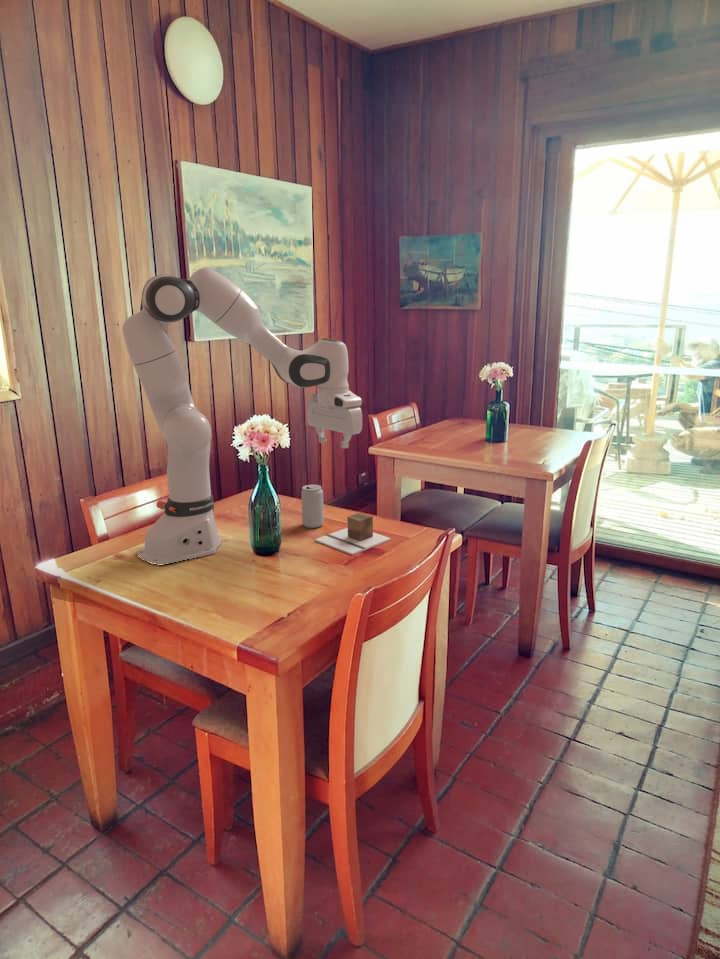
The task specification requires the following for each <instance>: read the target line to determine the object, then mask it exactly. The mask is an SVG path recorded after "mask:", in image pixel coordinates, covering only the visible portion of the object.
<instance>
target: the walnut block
mask: <svg viewBox="0 0 720 959" xmlns="http://www.w3.org/2000/svg"><path fill="white" fill-rule="evenodd" d="M373 517H374V516H373V515H368V514H366V513H363V512H357V513H355V514H351V515H349V516H347V528H348V537H349V538H352V539H355V540H358V541H363V540H365V539H368V538H371V537H373V532H374V518H373Z"/></svg>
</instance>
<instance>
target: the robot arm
mask: <svg viewBox="0 0 720 959" xmlns="http://www.w3.org/2000/svg"><path fill="white" fill-rule="evenodd" d="M142 288H143V289H142V292H141V300H140V301H141V303H140V311H139V312H136V313H134V314H132V315H130V316H129V317H128V318H127V319H126V320H125V321H124V323H123V325H122V333H123V338H124V339H123V340H124V342H125V347H126V349H127V352H128V356H129V358H130V360H131V363H132V366H133V367H134V369H135V372H136V374H137V377H138V379H139V381H140V383H141V385H142V388H143V390H144V392H145V395H146V398H147V400H148V403H149V406H150V408H151V411H152V414H153V416H154V419H155V421H156V424H157V426H158V428H159V431H160V433H161V434H162V436H163V437H164V438H165V440H166V444H167V466H166V477H167V489H168V498H167V500H166V502H165V501H163V500H158V501H157V502H156V503H155V504H156V505H155V506H156V507H157V508H158V509H161V510H164V513H163V514H162V515H161V516H160V517H159V518H158V519H157V520H156V521H155V522H154V523H153V524H152V525H151V526H150V527H149V528H148V529H147V531H146V533H145V537H144V546H142V547H140V548H137V550H136V555H137V554H138V555H139V556H140V557H141V558H142V559H144V560H146V561H149V562H152V563H156V564H166V563H172V562H177V561H181V560H185V561H188V560H187V559H189V560H194V559H196V558H197V557H198V558H201V557H206V556H209V555H210V556H211V555H213V554H216V553H217V549H218V547H220V545H221V544H222V540H221V538H220V536H219V533H218V529H217V526H216V520H215V516H214V515H215V514H214V512H215V506H214V505H215V503H214V496H213V493H212V489H211V488H212V487H211V478H210V477H211V476H210V457H211V456H210V455H211V440H212V434H213V433H212V427H211V424H210V421H209V419H207V417H206V415H205V414H203V413H202V412H200V411H199V409H197V407H196V404H195V402H194V399H193V396H192V393H191V389H190V384H189V382H188V377H187V374H186V372H185V370H184V367H183V365H182V363H181V360H180V357H179V354H178V353H177V350H176V348H175V346H174V343H173V341H172V337H171V335H170V324H171V323H177V322H179V321H181V320H183V319H184V318H186V317H188V316H189V315H191V314H192V313H193V312H196V311H197V312H199V313H201V314H202V315H204V316H205V317H207V319H208V320H210V322H212V323H213V324H215V325H216V326H217V327H219V328H220V329H221V330H222V331H224V332H226V333H228V334H229V335H231V336H232V337H235V338H237V339H238V340H241V341H244V342H246V343H247V344H249V345H250V346H252V348H254V349H255V350H256V351H257V352H259V354H261V355H262V356H263V357H264V358H265V359H267V360H268V362H270V364H271V366H272V367H273V369H274V371H275V373H276V376H278V378H279V379H280V380H281V381H282V382H284V383H286V384H289V385H293V386H295V387H298V388H302V389H305V388H310V387H316V386H317V393H313V394H311V396H309V399H308V403H307V409H306V410H307V411H306V422H307V424H308V426H309V427H310V426H311V427H315V431H316V433H317V436H318V442H319V443H321V444H324V443H327V441H328V440H327V439H328V438H327V437H328V436H326V435H325V430H328V431H333V432H338V433H342V437H343V440H342V441H340V448H342V449H348V448H349V447H350V446H349V445H350V443H349V442H350V441H351V439H352V437H353V436H354V435H358V434H360V433H361V432H362V430H363V411H362V407H360V406H362V403H363V399H362V398H361V397H360V396H358V395H356V394H355V393H353V392H352V391H351V390H350V387H349V386H350V385H349V382H348V375H349V371H350V370H349V369H350V368H349V352H348V348H347V345H346V344H345V343H344V341H341V340H336V339H332V338H325V337H324V338H323V337H322V338H320V339H319V340H317V342H315V343H314V344H313V345H310V346H309V347H307V348H305V349H302V350H300V349H299V348H298V349H297V348H295V347H290V346H288V345H286V344H284V342H283V341H281V340H280V339H279V338H278V337H277V336H276V335H274V334H273V333H272V332H271V331H270V330H269V329H268V328H267V327H266V326H265V325H264V323H263V321H262V319H261V311H260V309H259V307H258V306H257V304H256V303H255V302H254V300H253V299H251V297H250V296H249V295H248V294H247V293H246V292H245V291H244V290H242V289H241V288H240V287H239V286H238V285H236V283H234V282H233V281H232V280H230V279H229V278H227V277H226V276H224V275H222V273H219V272H218V271H216V270H214V269H213V268H210V267H202V268H199V269H198V270H196V271H194V272H193V273H192V274H191V276H190V277H189V278H187V279H184V278H180V277H176V276H175V275H170V274H166V273H165V274H164V273H163V274H158V275H155V276H152V277H151V278H150V279H148V280H147V281H146V282H145V284H144V286H143V287H142ZM193 558H194V559H193ZM181 562H182V561H181ZM177 563H178V562H177Z"/></svg>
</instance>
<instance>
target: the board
mask: <svg viewBox="0 0 720 959" xmlns="http://www.w3.org/2000/svg"><path fill="white" fill-rule="evenodd" d="M391 540H392V539H391V537H388V536H386V535H383V534H379V533H376V532H374V531H373V537H371V538H368V539H365V540H363V541H358V540H355V539H352V538H349V537H348V527H345V528H342V529H340V530H336V531H334V532H332V533H328V534H325V535H323V536H320V537H317V538H315V539H314V541H315V542H316V543H318V544H319V543H320V544H322V545H325V546H328V547H330V548H333V549H336V550H338V551H339V552H342V553H346V554H348V555H351V556H354V555H357V554H359V553H361V552H363V551H366V550H369V549H371V548H373V547H376V546H379V545H381V544H384V543H387V542H389V541H391Z"/></svg>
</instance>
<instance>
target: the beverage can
mask: <svg viewBox="0 0 720 959" xmlns="http://www.w3.org/2000/svg"><path fill="white" fill-rule="evenodd" d="M300 492H301V494H300V495H301V498H300V499H301V519H302V521H301V522H302V525H303V526H304V527H305V528H307V529H317V528H321V526H323V524H325V521H324V520H325V519H324V517H325V514H324V490H323V489H322V486H321V485H319V484H307V485H306V484H305V485H303V486H302V489H301V491H300Z"/></svg>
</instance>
